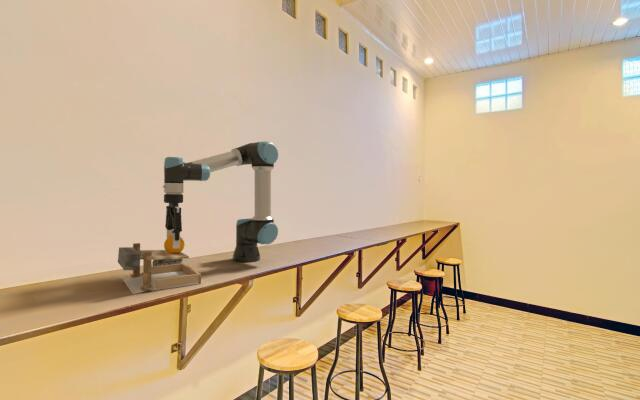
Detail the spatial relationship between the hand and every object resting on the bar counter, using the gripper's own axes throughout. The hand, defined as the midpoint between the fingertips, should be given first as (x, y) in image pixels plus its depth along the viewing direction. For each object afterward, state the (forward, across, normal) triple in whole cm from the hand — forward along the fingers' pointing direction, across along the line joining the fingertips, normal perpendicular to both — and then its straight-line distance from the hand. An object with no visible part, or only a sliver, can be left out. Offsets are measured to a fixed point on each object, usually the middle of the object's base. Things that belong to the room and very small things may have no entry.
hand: (173, 246), depth 143 cm
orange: (+3, 0, 0) cm, 3 cm away
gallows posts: (+14, 0, -12) cm, 19 cm away
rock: (+15, -21, +3) cm, 26 cm away
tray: (+14, 0, -5) cm, 15 cm away
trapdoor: (+7, 0, -8) cm, 10 cm away
